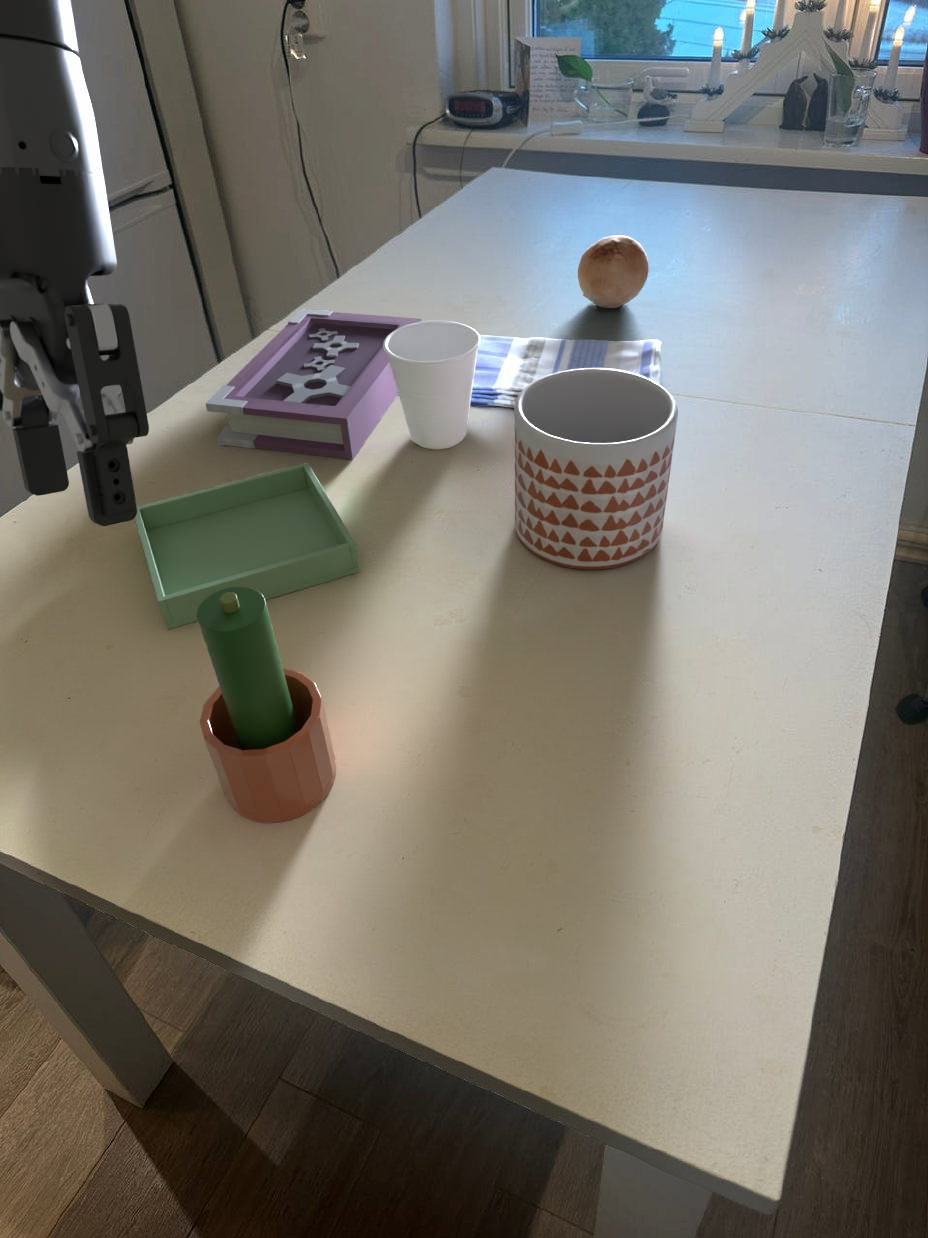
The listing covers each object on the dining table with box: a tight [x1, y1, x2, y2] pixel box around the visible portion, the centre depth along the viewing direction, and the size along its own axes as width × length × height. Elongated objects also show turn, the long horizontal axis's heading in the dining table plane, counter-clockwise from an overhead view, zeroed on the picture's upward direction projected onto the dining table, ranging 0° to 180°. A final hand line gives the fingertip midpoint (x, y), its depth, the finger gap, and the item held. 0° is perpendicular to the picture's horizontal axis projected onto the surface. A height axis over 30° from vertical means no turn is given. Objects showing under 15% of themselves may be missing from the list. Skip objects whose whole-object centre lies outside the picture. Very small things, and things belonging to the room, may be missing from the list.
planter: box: [513, 368, 679, 571], centre depth 78 cm, size 14×14×13 cm
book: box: [204, 308, 423, 460], centre depth 102 cm, size 25×16×5 cm, turn 164°
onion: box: [577, 234, 650, 309], centre depth 117 cm, size 10×9×10 cm
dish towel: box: [470, 334, 663, 409], centre depth 103 cm, size 17×24×3 cm
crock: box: [199, 667, 337, 824], centre depth 59 cm, size 8×8×7 cm
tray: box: [134, 462, 361, 630], centre depth 80 cm, size 17×15×3 cm
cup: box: [383, 320, 481, 450], centre depth 92 cm, size 10×10×11 cm
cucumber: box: [197, 587, 299, 750], centre depth 56 cm, size 4×4×16 cm
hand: (79, 506), depth 47 cm, fingers open, 8 cm apart
